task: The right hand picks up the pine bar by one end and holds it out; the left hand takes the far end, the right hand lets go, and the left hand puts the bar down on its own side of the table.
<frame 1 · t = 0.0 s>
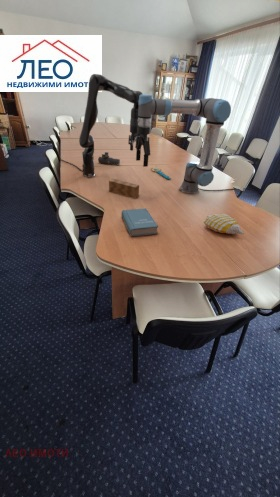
left hand: (134, 149, 167), 29 cm above the table, tool pointing down, fingers open, 8 cm apart
right hand: (141, 163, 143), 28 cm above the table, tool pointing down, fingers open, 13 cm apart
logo: (161, 173, 217), on the table
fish: (222, 230, 136), on the table
bar: (123, 193, 172), on the table
laser sight: (108, 164, 232), on the table
book: (138, 225, 134), on the table
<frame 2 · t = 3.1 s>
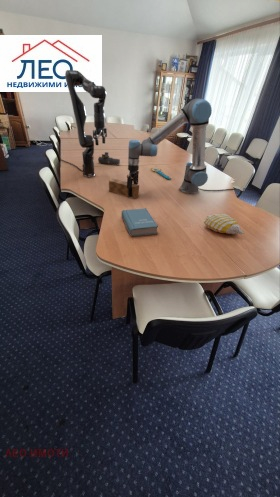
left hand: (100, 144, 169), 30 cm above the table, tool pointing down, fingers open, 8 cm apart
right hand: (132, 195, 169), 0 cm above the table, tool pointing down, fingers closed on bar, 6 cm apart
bar: (123, 193, 172), on the table, touching right hand
everything else where it was.
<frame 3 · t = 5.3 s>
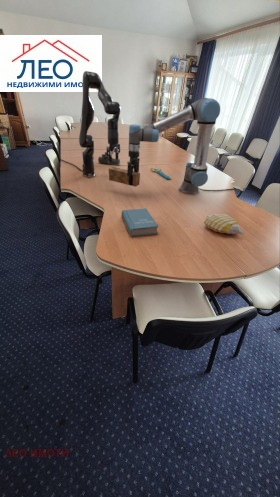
left hand: (113, 160, 162), 23 cm above the table, tool pointing down, fingers open, 8 cm apart
right hand: (132, 183, 164), 10 cm above the table, tool pointing down, fingers closed on bar, 6 cm apart
bar: (124, 182, 166), point 9 cm above the table, touching right hand
everything else where it was.
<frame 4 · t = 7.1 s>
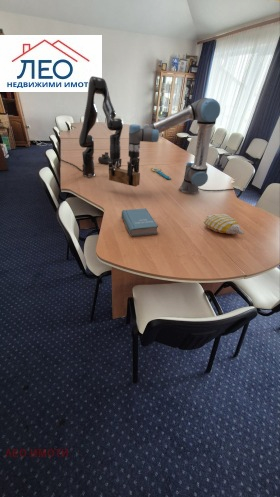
left hand: (115, 174, 167), 13 cm above the table, tool pointing down, fingers closed on bar, 6 cm apart
right hand: (132, 183, 164), 10 cm above the table, tool pointing down, fingers closed on bar, 6 cm apart
bar: (124, 182, 166), point 9 cm above the table, touching left hand, right hand
everything else where it was.
when the right hand's fingers open (10 cm above the table, at t = 8.0 s): bar stays where it is, held by the left hand.
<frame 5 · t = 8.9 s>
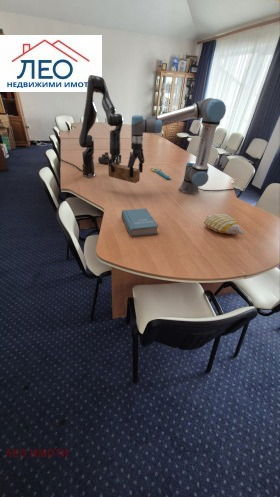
left hand: (115, 170, 165), 16 cm above the table, tool pointing down, fingers closed on bar, 6 cm apart
right hand: (136, 174, 159), 17 cm above the table, tool pointing down, fingers open, 13 cm apart
bar: (123, 178, 165), point 12 cm above the table, touching left hand
everything else where it was.
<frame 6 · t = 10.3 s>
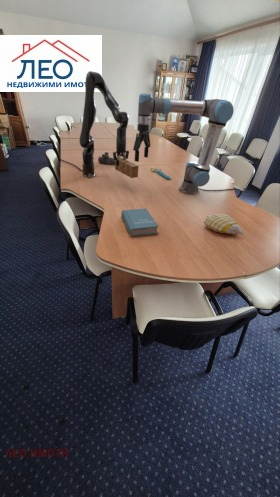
left hand: (120, 164, 178), 16 cm above the table, tool pointing down, fingers closed on bar, 6 cm apart
right hand: (141, 159, 150), 28 cm above the table, tool pointing down, fingers open, 13 cm apart
bar: (126, 173, 176), point 12 cm above the table, touching left hand
everything else where it was.
when the left hand's fingers open (5 cm above the table, at t = 13.6 s): bar stays where it is, on the table.
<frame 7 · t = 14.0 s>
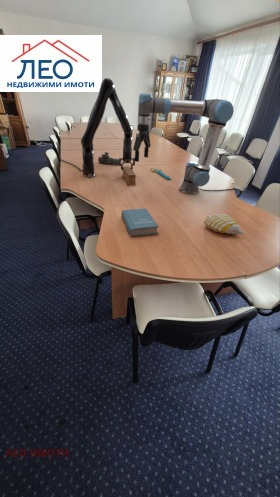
left hand: (126, 170, 198), 7 cm above the table, tool pointing down, fingers open, 8 cm apart
right hand: (141, 159, 150), 28 cm above the table, tool pointing down, fingers open, 13 cm apart
bar: (128, 180, 196), on the table
everything else where it was.
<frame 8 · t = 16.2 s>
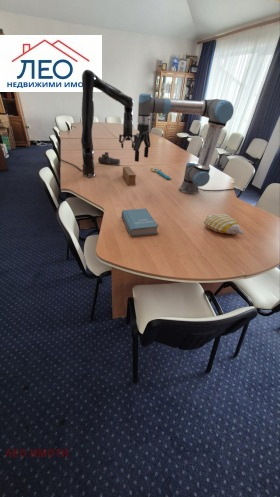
left hand: (127, 148, 187), 25 cm above the table, tool pointing down, fingers open, 8 cm apart
right hand: (141, 159, 150), 28 cm above the table, tool pointing down, fingers open, 13 cm apart
nothing on the table moved.
at the end: bar inside the target area (7.6 cm from its centre), on the table; the left hand is holding nothing; the right hand is holding nothing; bar at rest at the end (0.0 cm/s) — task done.
